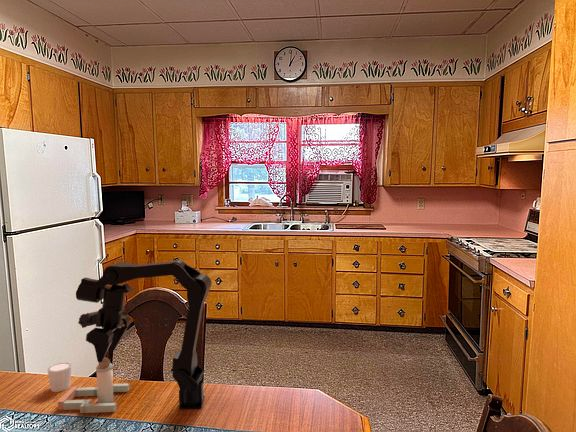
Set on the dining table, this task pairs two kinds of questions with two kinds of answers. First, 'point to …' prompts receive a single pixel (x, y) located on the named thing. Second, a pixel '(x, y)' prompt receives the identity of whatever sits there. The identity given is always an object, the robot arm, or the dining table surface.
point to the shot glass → (59, 376)
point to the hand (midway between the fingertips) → (106, 356)
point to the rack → (86, 405)
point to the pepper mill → (105, 381)
